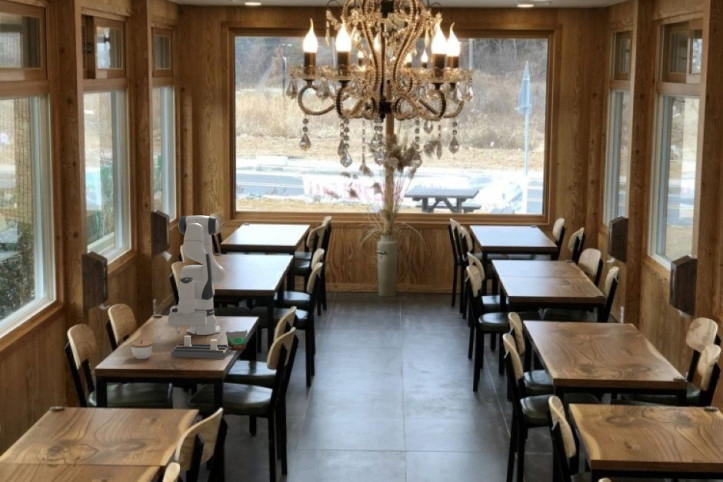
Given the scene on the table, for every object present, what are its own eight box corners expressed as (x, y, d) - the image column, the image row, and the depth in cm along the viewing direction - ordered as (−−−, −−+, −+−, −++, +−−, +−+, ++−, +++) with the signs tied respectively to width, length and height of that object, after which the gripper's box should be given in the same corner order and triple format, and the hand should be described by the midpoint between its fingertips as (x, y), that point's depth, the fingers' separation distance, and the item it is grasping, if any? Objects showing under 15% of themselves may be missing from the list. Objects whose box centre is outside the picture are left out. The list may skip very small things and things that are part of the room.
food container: (229, 352, 570) (229, 333, 568) (225, 349, 575) (225, 331, 574) (251, 349, 576) (251, 331, 574) (247, 347, 581) (247, 329, 579)
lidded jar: (149, 354, 563) (148, 336, 562) (154, 359, 554) (154, 341, 552) (128, 356, 558) (128, 338, 557) (134, 361, 549) (134, 343, 547)
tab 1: (184, 345, 568) (184, 335, 568) (191, 345, 568) (191, 335, 567) (183, 347, 565) (183, 336, 565) (190, 347, 565) (190, 336, 564)
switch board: (177, 350, 571) (177, 343, 570) (229, 352, 570) (229, 344, 569) (171, 356, 558) (171, 349, 557) (224, 358, 557) (224, 350, 556)
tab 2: (210, 349, 561) (210, 339, 561) (218, 349, 561) (218, 339, 560) (209, 350, 558) (209, 340, 558) (217, 351, 558) (217, 340, 557)
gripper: (207, 307, 567) (208, 332, 569) (169, 306, 568) (170, 331, 570) (205, 310, 560) (205, 335, 563) (166, 309, 561) (167, 334, 564)
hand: (187, 333), depth 566 cm, fingers open, 8 cm apart
